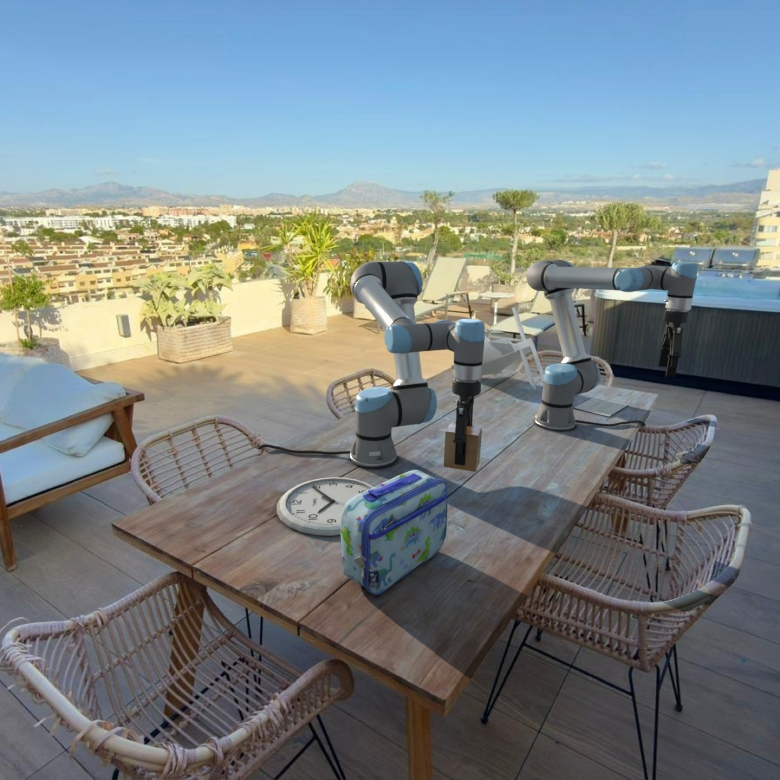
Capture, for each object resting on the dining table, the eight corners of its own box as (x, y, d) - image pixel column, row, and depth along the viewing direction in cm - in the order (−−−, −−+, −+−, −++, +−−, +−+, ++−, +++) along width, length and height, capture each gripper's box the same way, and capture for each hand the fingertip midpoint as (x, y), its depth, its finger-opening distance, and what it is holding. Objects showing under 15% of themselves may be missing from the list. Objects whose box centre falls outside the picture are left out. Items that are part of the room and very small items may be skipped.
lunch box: (368, 607, 104) (369, 515, 98) (334, 582, 112) (333, 494, 106) (451, 554, 122) (455, 472, 116) (417, 535, 129) (420, 457, 123)
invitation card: (608, 416, 214) (573, 407, 224) (608, 416, 214) (573, 408, 224) (628, 404, 229) (594, 396, 238) (628, 405, 229) (594, 397, 238)
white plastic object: (482, 418, 266) (461, 395, 241) (463, 346, 288) (443, 318, 264) (553, 394, 254) (538, 368, 229) (528, 321, 276) (512, 289, 251)
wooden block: (448, 458, 149) (450, 423, 146) (479, 462, 146) (482, 427, 143) (443, 467, 143) (445, 431, 140) (475, 471, 141) (478, 435, 138)
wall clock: (392, 527, 129) (268, 531, 127) (391, 533, 130) (269, 537, 127) (383, 473, 158) (282, 475, 155) (383, 478, 158) (282, 480, 156)
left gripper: (459, 368, 147) (455, 444, 154) (445, 387, 130) (441, 471, 137) (486, 371, 145) (481, 447, 152) (475, 390, 128) (469, 476, 135)
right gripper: (658, 304, 187) (648, 362, 193) (672, 314, 164) (661, 379, 170) (681, 305, 185) (670, 363, 191) (699, 316, 162) (686, 382, 168)
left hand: (462, 458), depth 144 cm, fingers closed on wooden block, 6 cm apart
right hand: (666, 371), depth 181 cm, fingers open, 13 cm apart
